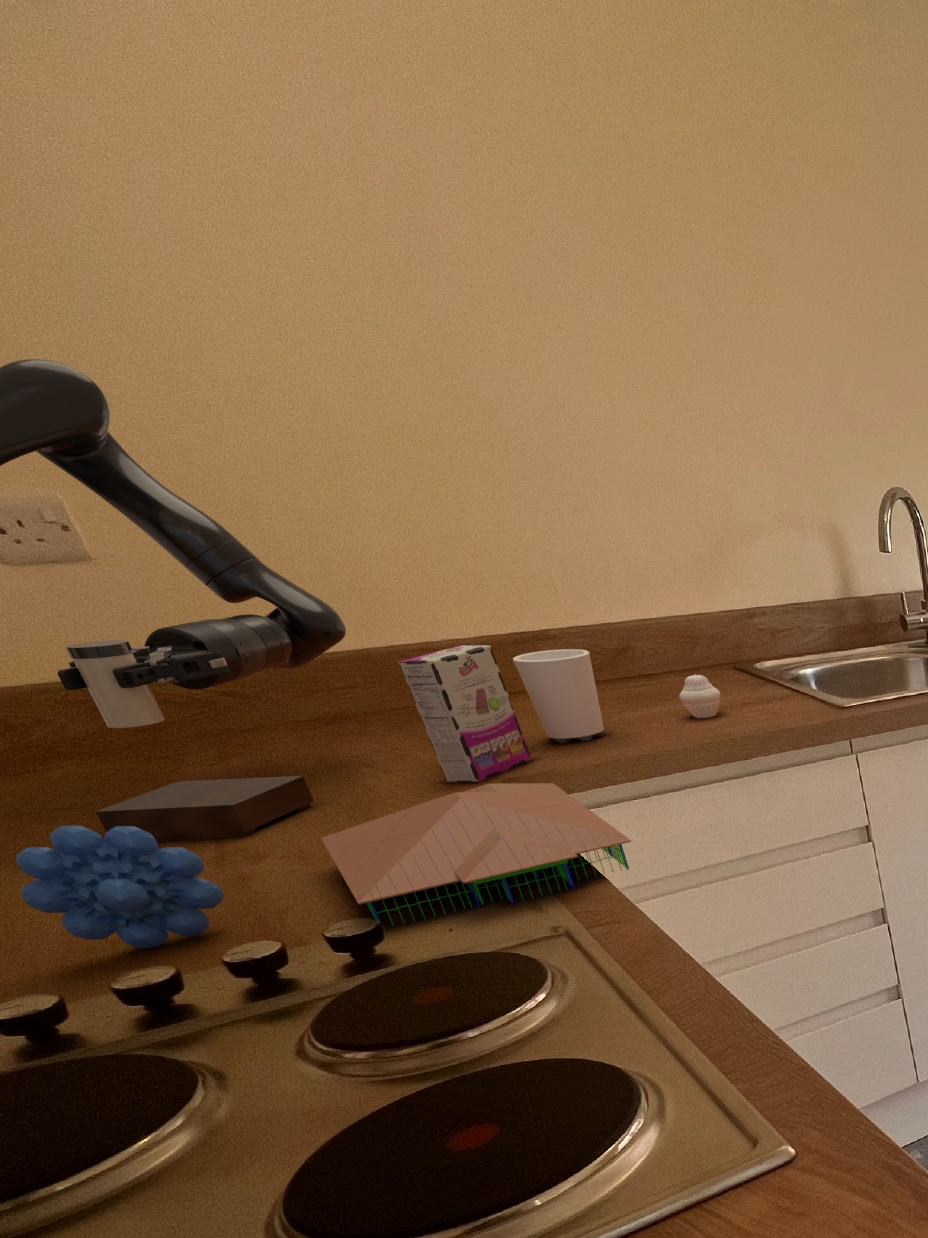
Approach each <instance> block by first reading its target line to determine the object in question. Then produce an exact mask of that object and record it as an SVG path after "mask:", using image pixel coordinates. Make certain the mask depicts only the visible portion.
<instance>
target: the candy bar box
mask: <svg viewBox="0 0 928 1238" xmlns="http://www.w3.org/2000/svg"><path fill="white" fill-rule="evenodd" d="M397 663H398V665H399V667H400V671H401V672H402V675H403V677H404V680H405V682H406V685H407V687H408V690H409V692H410V695H411V697H412V700H413V703H414V705H415V707H416V710H417V712H418V715H419V717H420V719H421V722H422V725H423V727H424V730H425V732H426V735H427V736H428V739H429V742H430V744H431V747H432V749H433V752H434V754H435V757H436V759H437V762H438V764H439V767H440V769H441V771H442V774H443V776H444V779H445V781H446V783H482V782H483V781H486V780H489V779H491V778H492V777H496V776H497V775H500V774H502V773H504V772H507V771H509V770H511V769H514V768H516V767H518V766H521V765H524V764H525V763H528V762H530V761H531V760H532V757H531V754H530V751H529V748H528V746H527V743H526V740H525V737H524V735H523V732H522V729H521V726H520V724H519V720H518V718H517V716H516V713H515V710H514V707H513V704H512V702H511V699H510V696H509V693H508V690H507V688H506V685H505V682H504V679H503V677H502V674H501V671H500V668H499V666H498V663H497V660H496V657H495V654H494V651H493V648H492V646H491V645H485V644H482V645H481V644H479V645H476V644H473V645H472V644H470V645H467V644H464V645H457V646H454V647H450V648H446V649H445V648H444V649H441V650H437V651H433V652H431V653H427V654H423V655H419V656H416V657H412V658H409V659H404V660H400V661H398V662H397Z"/></svg>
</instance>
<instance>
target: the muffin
mask: <svg viewBox="0 0 928 1238" xmlns="http://www.w3.org/2000/svg"><path fill="white" fill-rule="evenodd" d="M682 687H683V689H682V690H681V691H680V693H679V695H678V696H679V700H680V701H681V702H682V705H683V706H684V707H685V708H686V709H687V710H688V712H689V713H690V714H691V715H692V716H693V717H694V718H696V719H707V718H711V717H712V718H713V717H715V716H717V713H718V710H719V706H720V703H721V699H720V698H721V692H720V690H719V689H718V688H716V687H715V686H713V684H712V683H711V682H709V678H707V677H706V676H704V675H701V674H696V673H693V675H689V676H687V677H686V678H685V679H684V685H683V686H682Z"/></svg>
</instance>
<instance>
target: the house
mask: <svg viewBox="0 0 928 1238" xmlns="http://www.w3.org/2000/svg"><path fill="white" fill-rule="evenodd" d="M320 839H321V841H322V843H323V845H324V846H325V848H326V850H327V851H328V853H329V855H330V857H331V859H332V860H333V862H334V864H335V865H336V867H337V870H338V871H339V872H340V875H341V877H342V878H343V879H344V882H345V883H346V885H347V887H348V888H349V890H350V892H351V894H352V895H353V897H354V899H355V901H356V903H357V905H363V904H366V905H367V907H368V909H369V911H370V912H371V914H372V917H374V920H375V921H376V922H377V921H379V923H381V924H382V922H381V920H380V917H379V915H378V914H379V913H383V912H386V913H387V915H388V917H389V920H390V921H391V924H392V926H393V927H395V925H394V922H393V920H392V918H391V915H390V913H389V912H390V911H394V910H398V913H399V915H400V918H401V921H402V923H403V924H404V925H405V921H404V919H403V916H402V914H401V912H400V909H401V908H404V907H408V909H409V911H410V912H409V913H410V914H411V916H412V919H413V921H414V922H416V920H415V917H414V914H413V912H412V910H411V908H410V906H414V905H418V906H419V908H420V911H421V914H422V916H423V918H424V919H426V917H425V914H424V911H423V909H422V906H421V903H425V902H426V903H427V902H428V903H429V905H430V908H431V910H432V913H433V915H434V916H436V914H435V911H434V908H433V906H432V904H431V902H433V901H436V900H439V903H440V904H441V907H442V910H443V913H444V915H447V914H446V911H445V908H444V906H443V904H442V901H441V899H442V898H443V899H444V898H447V897H449V900H450V903H451V905H452V908H453V910H454V911H456V908H455V905H454V903H453V901H452V898H451V897H453V896H457V895H459V898H460V900H461V903H462V905H463V908H464V909H466V906H465V903H464V901H463V899H462V896H461V894H464V893H465V895H466V897H467V900H468V903H469V905H470V907H471V908H473V906H472V903H471V900H470V899H469V895H468V893H469V892H472V894H473V897H474V900H475V902H476V905H477V907H480V905H485V903H484V900H483V898H482V895H481V892H480V889H484V888H486V889H487V892H488V894H489V898H490V900H491V903H494V901H493V899H492V895H491V893H490V890H489V888H491V887H495V886H496V888H497V892H498V894H499V896H500V899H501V900H503V897H502V895H501V892H500V889H499V887H498V885H502V887H503V888H502V889H503V891H504V893H505V895H506V897H507V899H508V900H509V901H510V902H511V903H512V904H515V900H514V898H513V894H512V891H511V889H510V888H513V887H516V886H517V888H518V890H519V893H520V896H521V898H522V901H525V900H524V896H523V894H522V891H521V888H520V886H522V885H527V887H528V889H529V893H530V895H531V898H532V899H534V896H533V893H532V891H531V888H530V885H529V883H533V882H536V884H537V886H538V889H539V892H540V895H541V896H543V893H542V890H541V887H540V884H539V881H543V880H545V881H546V883H547V886H548V887H547V888H548V890H549V892H550V894H551V895H552V893H553V892H552V890H551V887H550V884H549V882H548V879H550V878H555V881H556V884H557V887H558V890H559V891H561V888H560V885H559V883H558V879H557V877H561V879H562V882H563V885H564V887H565V890H566V891H567V890H568V887H567V885H566V882H567V883H568V884H569V885H570V886H571V887H572V889H576V887H575V884H574V881H573V878H572V876H571V875H572V874H571V872H570V870H569V869H570V868H573V869H574V872H575V875H576V878H577V881H578V882H580V878H579V875H578V872H577V870H576V867H579V866H582V867H583V870H584V873H585V877H586V879H587V880H589V878H588V874H587V871H586V868H585V866H584V865H586V864H591V866H592V870H593V872H594V876H595V877H596V878H597V874H596V871H595V867H594V865H593V863H596V862H599V863H600V866H601V868H602V872H603V875H604V876H605V875H606V873H605V870H604V867H603V864H602V861H603V860H607V859H608V863H609V865H610V868H611V872H612V873H613V874H614V870H613V866H612V863H611V860H610V859H614V860H615V861H617V862H618V865H619V869H620V871H621V872H622V871H623V868H622V866H623V867H624V868H625V870H626V871H628V870H629V869H630V867H629V864H628V861H627V858H626V854H625V852H624V848H623V844H628V843H631V842H632V840H631V839H630V838H629V837H627V836H626V835H625V834H623V833H622V832H621V831H620V830H618V829H616V828H615V827H613V826H612V825H611V824H610V823H608V822H607V821H605V820H604V819H603V818H601V817H600V816H599V815H598V814H596V813H595V812H593V811H592V810H590V809H589V808H588V807H586V806H585V805H584V804H583V803H581V802H579V801H578V800H577V799H576V798H574V797H572V796H571V795H570V794H568V793H567V792H566V791H564V790H563V789H562V788H560V787H559V786H558V785H557V784H554V782H553V783H552V782H548V783H547V782H546V783H545V782H544V783H539V782H538V783H537V782H536V783H527V782H525V783H523V782H522V783H521V782H520V783H485V784H483V785H480V786H477V787H473V788H470V789H468V790H464V791H462V792H460V791H459V792H458V791H457V792H451V793H450V794H447V795H444V796H440V797H437V798H434V799H432V800H429V801H426V802H423V803H420V804H416V805H413V806H411V807H408V808H405V809H402V810H399V811H396V812H393V813H391V814H388V815H384V816H382V817H378V818H376V819H372V820H370V821H366V822H364V823H361V824H357V825H355V826H351V827H349V828H345V829H343V830H339V831H337V832H333V833H331V834H328V835H325V836H321V837H320ZM598 850H602V854H603V856H604V857H603V858H601V857H600V854H599V851H598ZM590 852H593V853H594V856H595V859H596V860H594V861H592V858H591V855H590ZM605 853H606V854H605ZM581 854H585V855H586V858H587V862H583V859H582V857H581ZM606 855H607V856H606ZM576 858H578V862H579V864H577V865H575V863H574V861H573V859H576ZM569 861H570V864H571V866H568V864H569ZM548 868H551V869H552V873H553V875H552V876H551V875H549V872H548ZM544 869H545V870H546V873H547V876H546V873H545V871H544ZM539 870H542V873H543V876H544V878H541V875H540V873H539ZM555 872H556V873H555ZM525 873H532V874H533V876H534V879H535V880H531V881H528V879H527V877H526V874H525ZM522 874H523V876H524V878H525V881H526V882H524V883H520V884H519V883H518V880H517V878H516V876H518V875H522ZM512 876H514V877H513V878H514V880H515V882H516V884H513V885H509V884H508V881H507V878H509V877H512ZM496 880H500V882H499V883H497V881H496ZM492 881H494V883H495V884H493V885H487V883H488V882H492ZM458 882H459V883H460V882H461V885H462V887H463V890H464V891H459V888H458V886H457V883H458ZM483 883H484V884H485V886H482V887H478V885H479V884H483ZM450 884H454V885H455V888H456V890H457V892H458V893H455V894H449V891H448V889H447V885H450ZM464 884H465V885H466V886H467V887H468V888H469V890H466V889H465V886H464ZM441 886H444V887H445V890H446V892H447V895H444V896H439V894H438V891H437V887H441ZM432 888H434V890H435V893H436V896H437V897H438V898H433V899H429V896H428V894H427V890H428V889H432ZM419 891H420V892H421V891H424V893H425V895H426V898H427V900H423V901H419V900H418V897H417V894H416V893H417V892H419ZM411 893H413V894H414V895H415V896H414V897H415V899H416V901H417V902H415V903H413V904H412V903H411V904H409V902H408V901H407V898H406V895H407V894H411ZM398 896H403V897H404V900H405V902H406V905H402V906H398V905H397V902H396V899H397V897H398ZM390 898H392V899H393V901H394V905H395V906H396V907H394V908H391V909H387V905H386V904H385V902H384V900H385V901H388V899H390ZM395 898H396V899H395ZM380 900H381V901H382V903H383V905H384V909H385V910H380V911H376V908H375V906H374V904H373V902H378V901H380ZM480 903H481V904H480Z"/></svg>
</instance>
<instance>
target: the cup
mask: <svg viewBox="0 0 928 1238" xmlns="http://www.w3.org/2000/svg"><path fill="white" fill-rule="evenodd" d="M590 654H591V653H590V651H589V650H586V649H577V648H570V649H569V648H568V649H566V648H565V649H548V650H541V651H533V652H527V653H522V654H519V655H516V656H514V657H513V658H512V661H513V663H514V666H515V667H516V670H517V672H518V674H519V677H520V679H521V681H522V683H523V686H524V688H525V690H526V692H527V695H528V697H529V699H530V702H531V704H532V706H533V708H534V710H535V713H536V715H537V717H538V720H539V722H540V724H541V725H542V728H543V731H544V733H545V735H546V737H547V738H548V739H549V740H550V741H552V742H557V743H558V744H569V743H570V742H572V740H573V739H574V740H575V739H576V740H579V741H580V742H589V741H591V740H593V738H598V737H603V736H604V734H605V728H604V722H603V718H602V713H601V707H600V702H599V697H598V690H597V686H596V681H595V676H594V670H593V665H592V660H591V655H590Z"/></svg>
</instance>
